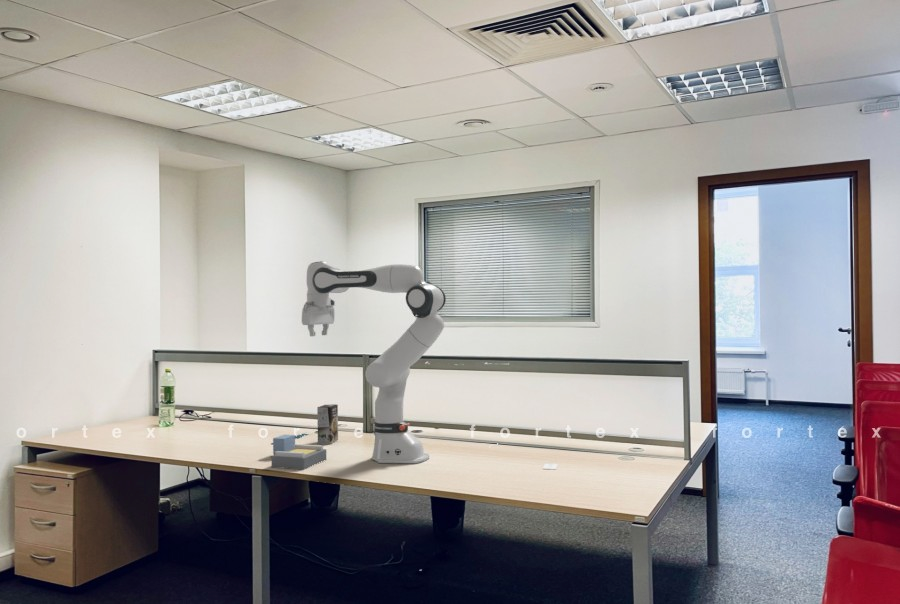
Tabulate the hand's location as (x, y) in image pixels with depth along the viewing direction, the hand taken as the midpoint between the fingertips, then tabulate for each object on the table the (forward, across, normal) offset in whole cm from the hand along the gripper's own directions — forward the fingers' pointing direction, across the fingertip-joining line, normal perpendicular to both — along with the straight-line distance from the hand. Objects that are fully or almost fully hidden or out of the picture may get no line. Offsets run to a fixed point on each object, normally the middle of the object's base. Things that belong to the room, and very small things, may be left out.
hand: (318, 335), depth 271 cm
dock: (+48, -17, -1) cm, 51 cm away
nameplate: (+48, +30, +29) cm, 64 cm away
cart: (+48, -6, +13) cm, 50 cm away
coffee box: (+48, +22, +9) cm, 54 cm away
